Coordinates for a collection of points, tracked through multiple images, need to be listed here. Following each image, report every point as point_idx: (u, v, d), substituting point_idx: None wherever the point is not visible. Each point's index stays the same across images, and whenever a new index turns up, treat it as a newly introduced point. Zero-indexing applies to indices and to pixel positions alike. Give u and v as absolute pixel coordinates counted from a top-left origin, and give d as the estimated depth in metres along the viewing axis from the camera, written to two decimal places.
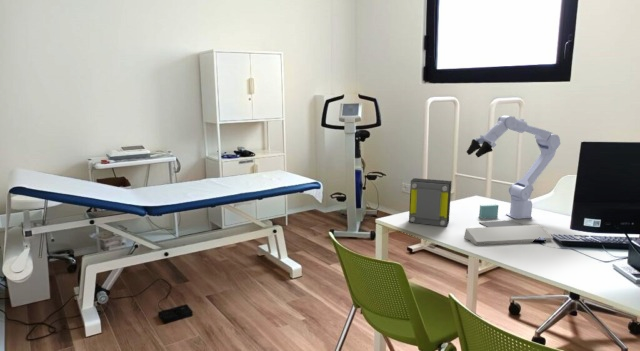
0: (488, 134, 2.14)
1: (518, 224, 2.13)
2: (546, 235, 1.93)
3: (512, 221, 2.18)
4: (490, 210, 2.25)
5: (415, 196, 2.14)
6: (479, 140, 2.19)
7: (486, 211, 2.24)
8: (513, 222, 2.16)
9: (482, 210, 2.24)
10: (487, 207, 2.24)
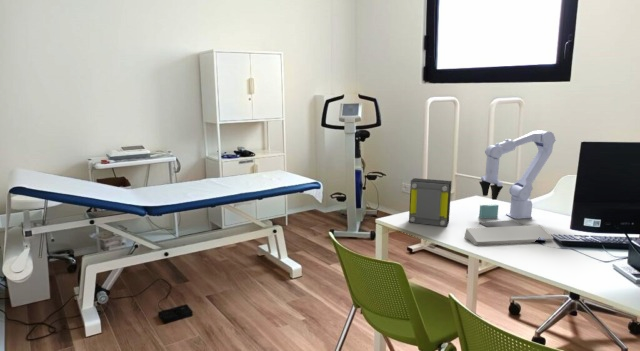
0: (488, 175, 2.20)
1: (518, 224, 2.13)
2: (547, 236, 1.92)
3: (512, 221, 2.18)
4: (490, 210, 2.25)
5: (415, 196, 2.14)
6: None
7: (486, 211, 2.24)
8: (513, 222, 2.16)
9: (482, 210, 2.24)
10: (487, 207, 2.24)
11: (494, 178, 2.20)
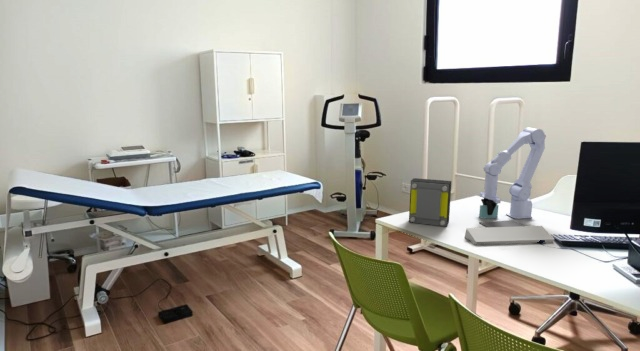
0: (487, 192, 2.22)
1: (518, 224, 2.13)
2: (548, 236, 1.91)
3: (512, 221, 2.18)
4: None
5: (415, 196, 2.14)
6: None
7: (486, 211, 2.24)
8: (513, 222, 2.16)
9: (482, 210, 2.24)
10: None
11: (493, 195, 2.21)
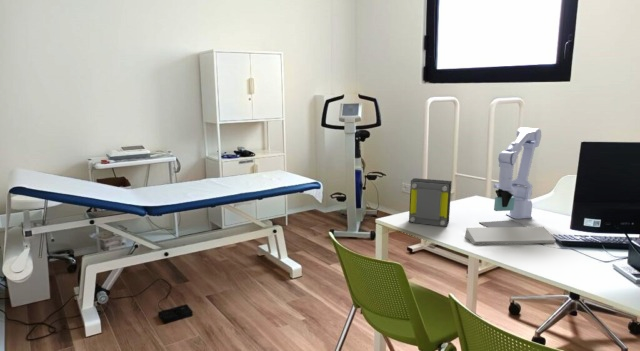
0: (502, 182, 2.08)
1: (518, 224, 2.13)
2: (549, 237, 1.90)
3: (512, 221, 2.18)
4: None
5: (415, 196, 2.14)
6: (498, 186, 2.15)
7: None
8: (513, 222, 2.16)
9: (497, 202, 2.11)
10: None
11: (508, 186, 2.08)
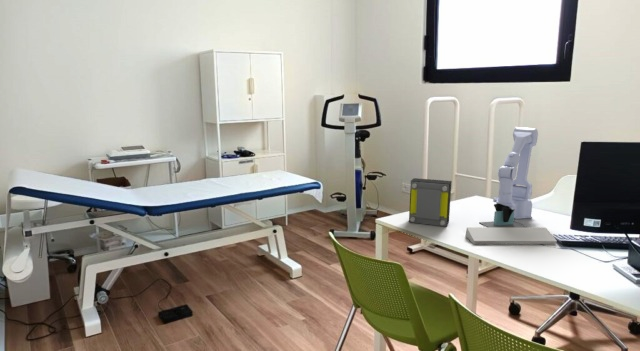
0: (501, 197, 2.09)
1: (518, 224, 2.13)
2: (550, 238, 1.89)
3: None
4: None
5: (415, 196, 2.14)
6: None
7: (501, 218, 2.12)
8: (513, 222, 2.16)
9: (497, 216, 2.11)
10: (502, 213, 2.11)
11: (508, 201, 2.08)
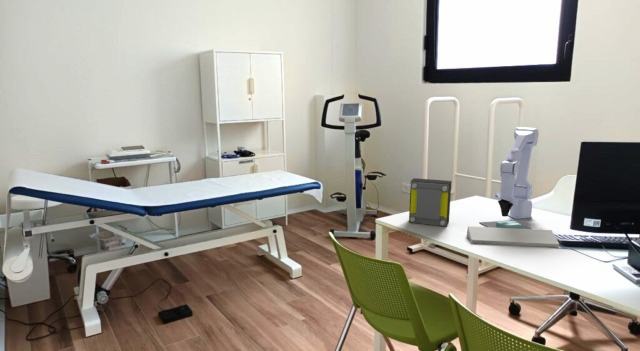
0: (503, 192, 2.08)
1: None
2: (553, 241, 1.86)
3: None
4: None
5: (415, 196, 2.14)
6: (499, 196, 2.14)
7: None
8: None
9: (502, 227, 2.08)
10: None
11: (510, 196, 2.07)
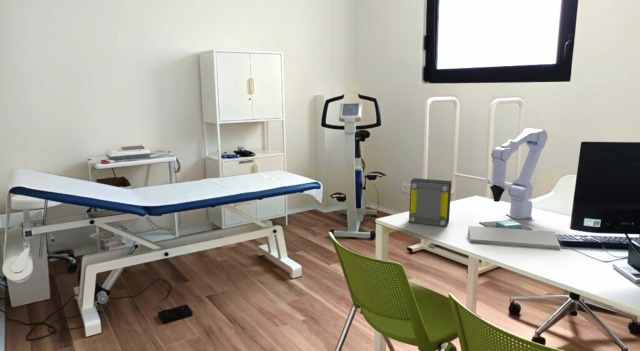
0: (495, 178, 2.13)
1: None
2: (554, 242, 1.84)
3: None
4: None
5: (415, 196, 2.14)
6: None
7: None
8: None
9: (502, 227, 2.08)
10: None
11: (501, 181, 2.13)
